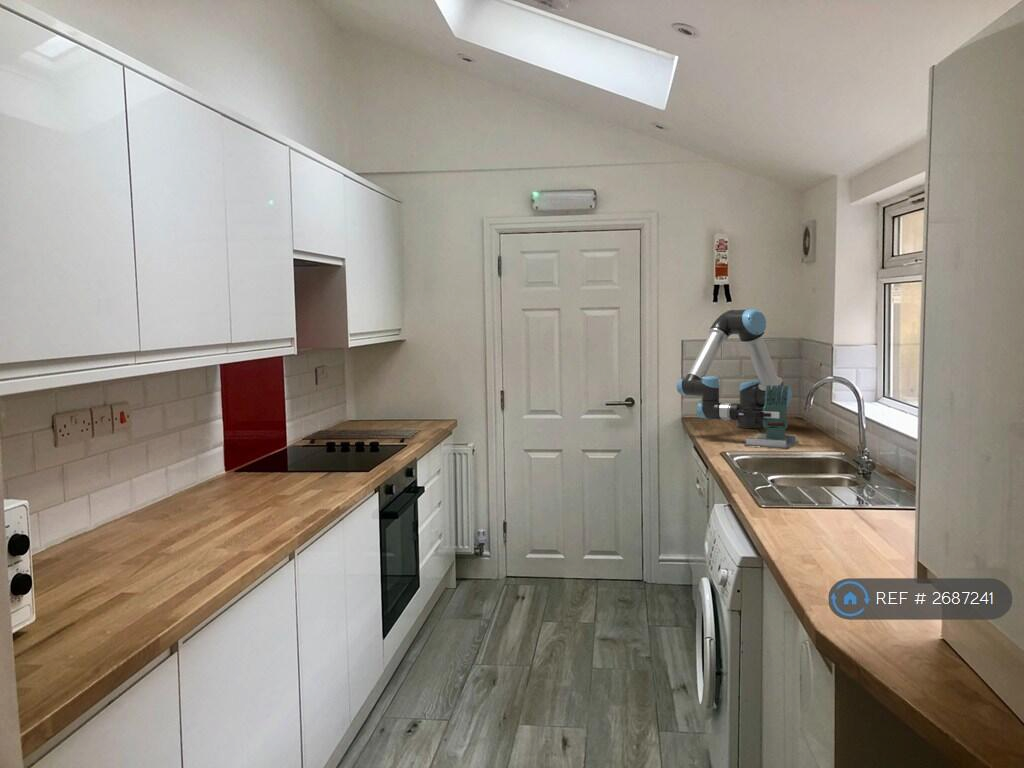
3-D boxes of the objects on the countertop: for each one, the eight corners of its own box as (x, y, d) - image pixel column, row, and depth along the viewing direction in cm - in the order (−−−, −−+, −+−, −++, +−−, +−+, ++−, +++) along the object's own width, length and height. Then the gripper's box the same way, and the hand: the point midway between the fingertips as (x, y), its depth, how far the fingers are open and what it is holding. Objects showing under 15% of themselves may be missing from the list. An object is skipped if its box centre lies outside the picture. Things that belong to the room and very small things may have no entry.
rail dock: (757, 440, 367) (757, 432, 367) (798, 442, 357) (798, 435, 357) (744, 446, 353) (744, 438, 352) (785, 449, 342) (785, 441, 342)
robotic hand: (752, 442, 354) (758, 391, 344) (753, 431, 364) (759, 381, 353) (786, 446, 351) (793, 394, 340) (785, 434, 360) (792, 384, 349)
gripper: (739, 417, 373) (789, 419, 360) (723, 422, 356) (774, 425, 343) (739, 400, 372) (789, 402, 359) (722, 405, 355) (774, 408, 342)
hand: (782, 414), depth 351 cm, fingers closed on robotic hand, 8 cm apart
